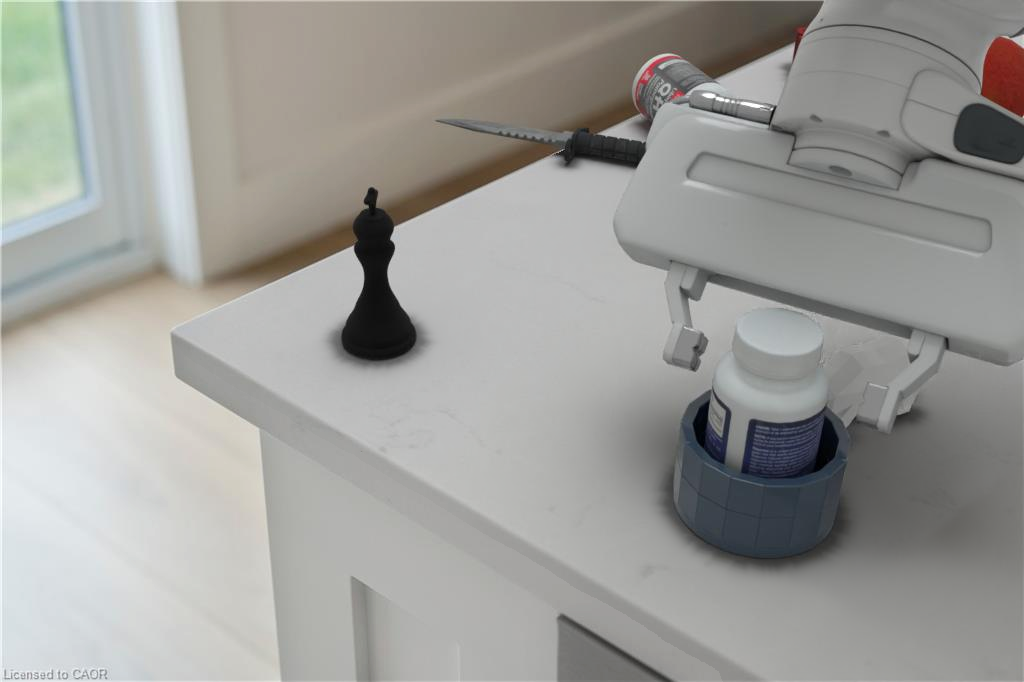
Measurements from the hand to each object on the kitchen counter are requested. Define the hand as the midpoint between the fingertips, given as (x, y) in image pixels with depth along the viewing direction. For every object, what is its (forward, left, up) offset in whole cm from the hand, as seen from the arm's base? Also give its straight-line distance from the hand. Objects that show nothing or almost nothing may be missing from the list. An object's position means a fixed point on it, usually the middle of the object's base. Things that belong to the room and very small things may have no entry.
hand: (772, 395), depth 58 cm
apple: (-38, -28, -5) cm, 48 cm away
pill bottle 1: (-19, -43, -4) cm, 48 cm away
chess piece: (+12, -21, -7) cm, 26 cm away
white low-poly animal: (-9, -4, -7) cm, 12 cm away
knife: (-11, -43, -6) cm, 45 cm away
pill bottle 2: (0, 0, -7) cm, 7 cm away
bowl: (0, 0, -7) cm, 7 cm away
